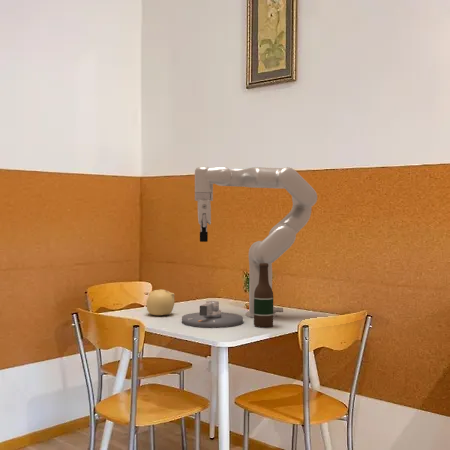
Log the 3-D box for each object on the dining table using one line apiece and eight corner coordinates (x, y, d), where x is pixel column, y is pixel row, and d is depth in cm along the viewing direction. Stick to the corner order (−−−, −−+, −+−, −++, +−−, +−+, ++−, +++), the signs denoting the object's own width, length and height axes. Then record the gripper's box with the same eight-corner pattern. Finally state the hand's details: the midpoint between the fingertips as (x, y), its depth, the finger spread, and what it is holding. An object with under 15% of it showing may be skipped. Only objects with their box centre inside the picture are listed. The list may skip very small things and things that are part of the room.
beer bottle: (258, 328, 231) (259, 264, 231) (249, 324, 238) (250, 262, 238) (277, 326, 234) (277, 263, 234) (267, 323, 241) (268, 262, 241)
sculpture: (176, 313, 265) (177, 287, 265) (169, 317, 253) (169, 291, 253) (151, 312, 267) (151, 287, 267) (142, 316, 255) (142, 290, 255)
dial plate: (239, 316, 257) (239, 311, 257) (246, 327, 233) (246, 321, 233) (181, 317, 255) (181, 311, 255) (182, 328, 231) (182, 322, 231)
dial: (206, 314, 248) (207, 300, 248) (223, 315, 246) (223, 300, 246) (193, 320, 234) (194, 305, 234) (211, 321, 232) (211, 306, 231)
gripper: (214, 196, 248) (213, 242, 249) (211, 197, 263) (211, 240, 263) (195, 196, 248) (195, 242, 248) (194, 197, 262) (194, 240, 263)
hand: (203, 241), depth 256 cm, fingers closed
